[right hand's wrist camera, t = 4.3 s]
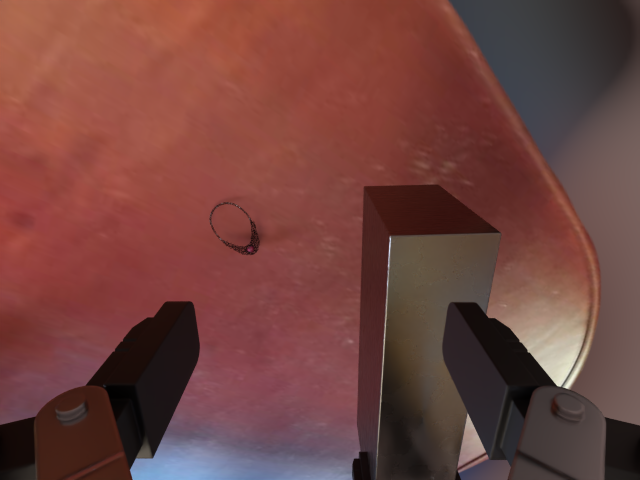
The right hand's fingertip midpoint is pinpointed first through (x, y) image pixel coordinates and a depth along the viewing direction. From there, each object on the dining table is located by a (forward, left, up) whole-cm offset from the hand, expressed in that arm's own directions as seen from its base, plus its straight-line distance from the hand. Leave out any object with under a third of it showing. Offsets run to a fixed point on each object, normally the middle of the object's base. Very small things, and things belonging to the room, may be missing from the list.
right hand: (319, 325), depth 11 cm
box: (+14, +7, -20) cm, 25 cm away
